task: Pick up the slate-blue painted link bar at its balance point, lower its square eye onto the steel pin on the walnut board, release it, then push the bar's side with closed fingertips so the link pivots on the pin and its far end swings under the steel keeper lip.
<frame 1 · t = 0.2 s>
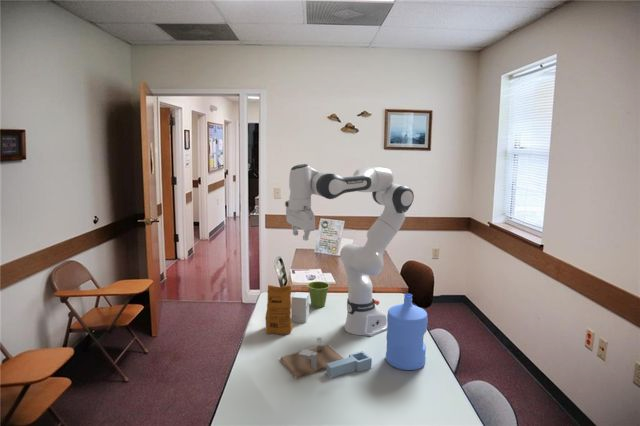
hand: (300, 237, 178), 47 cm above the table, fingers open, 8 cm apart
supplement box: (300, 319, 211), on the table
link: (347, 369, 167), on the table
base board: (313, 361, 173), on the table
pintle keeper: (312, 354, 170), on the base board, point 4 cm above the table
coffee package: (279, 330, 200), on the table
water jug: (405, 361, 174), on the table
plant pot: (318, 305, 228), on the table
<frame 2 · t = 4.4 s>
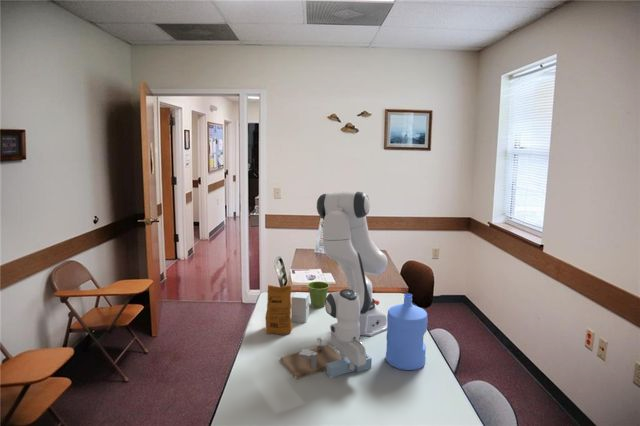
hand: (347, 365, 167), 2 cm above the table, fingers closed on link, 3 cm apart
link: (347, 369, 167), on the table, touching gripper
everything else where it was.
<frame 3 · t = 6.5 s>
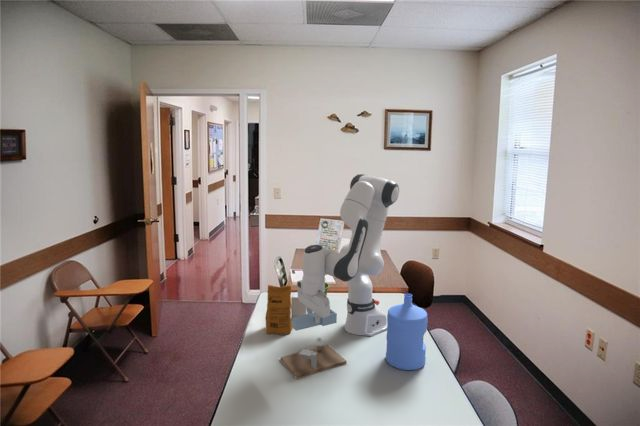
hand: (313, 319, 171), 17 cm above the table, fingers closed on link, 3 cm apart
link: (313, 324, 171), point 15 cm above the table, touching gripper
everything else where it was.
when the fingers open (4 cm above the table, at t = 8.6 s): link stays where it is, resting on base board.
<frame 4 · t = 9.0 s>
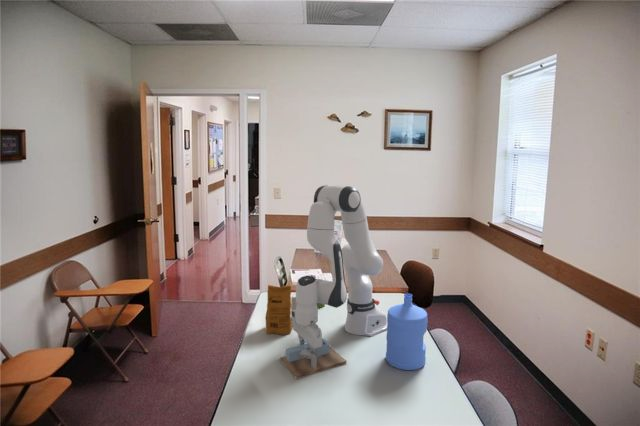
hand: (307, 348, 175), 4 cm above the table, fingers open, 8 cm apart
link: (306, 355, 175), point 1 cm above the table, touching base board
everything else where it was.
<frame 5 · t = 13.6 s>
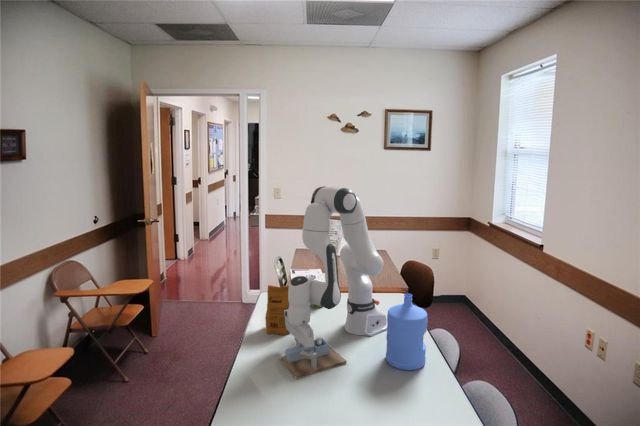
hand: (299, 348, 177), 3 cm above the table, fingers closed
link: (306, 355, 175), point 1 cm above the table, touching gripper
everything else where it was.
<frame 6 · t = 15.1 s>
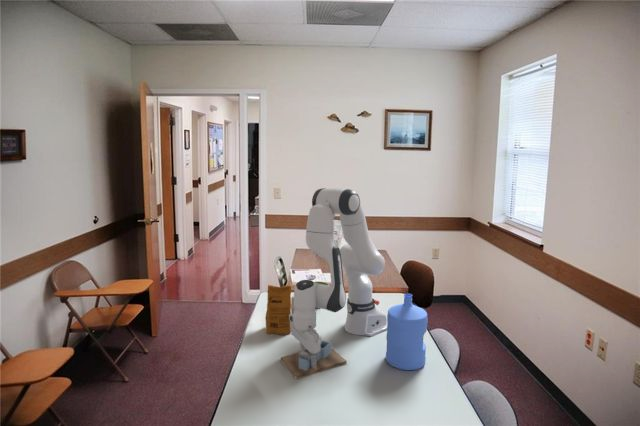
hand: (305, 353, 172), 3 cm above the table, fingers closed
link: (313, 359, 172), point 1 cm above the table, touching base board, gripper, pintle keeper
everything else where it was.
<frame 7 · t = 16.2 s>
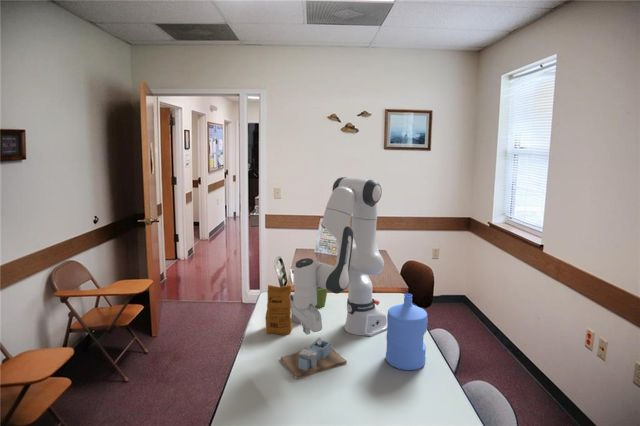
hand: (306, 332, 171), 12 cm above the table, fingers closed
link: (313, 359, 172), point 1 cm above the table, touching base board
everything else where it was.
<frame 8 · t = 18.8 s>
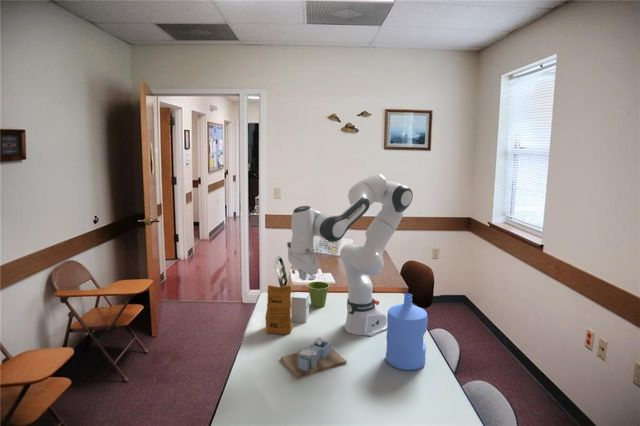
hand: (302, 279, 177), 31 cm above the table, fingers closed
nothing on the table moved.
at the end: link 1.2 cm off-centre on the base board, point 1.2 cm above the base board's base; link point 1.2 cm above the table; the gripper is holding nothing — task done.
